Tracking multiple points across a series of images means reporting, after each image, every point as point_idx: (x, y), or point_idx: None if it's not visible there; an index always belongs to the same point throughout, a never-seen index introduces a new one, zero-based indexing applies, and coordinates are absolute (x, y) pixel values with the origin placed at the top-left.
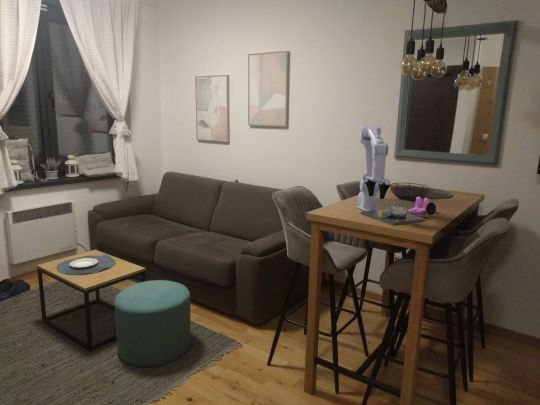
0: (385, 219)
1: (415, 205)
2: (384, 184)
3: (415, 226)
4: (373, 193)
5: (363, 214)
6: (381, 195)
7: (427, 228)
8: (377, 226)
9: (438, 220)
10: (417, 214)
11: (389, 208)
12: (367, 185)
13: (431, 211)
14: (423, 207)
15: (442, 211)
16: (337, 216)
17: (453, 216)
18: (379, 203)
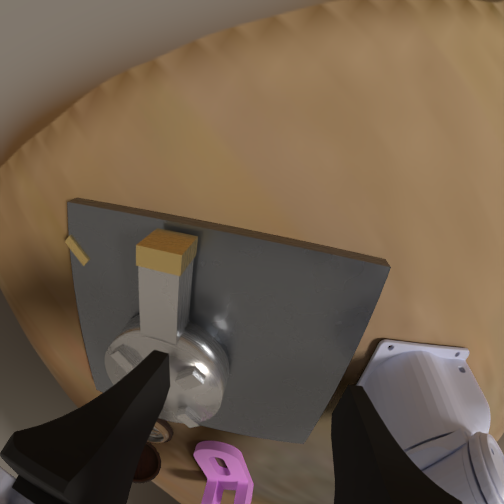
0: (128, 224)
1: (246, 489)
2: (32, 486)
3: (40, 277)
4: (332, 438)
5: (355, 253)
6: (129, 378)
7: (18, 288)
8: (94, 93)
9: None
10: (169, 430)
11: (187, 366)
12: (411, 488)
13: None
14: (214, 484)
15: (188, 486)
16: (433, 55)
17: None
18: None
